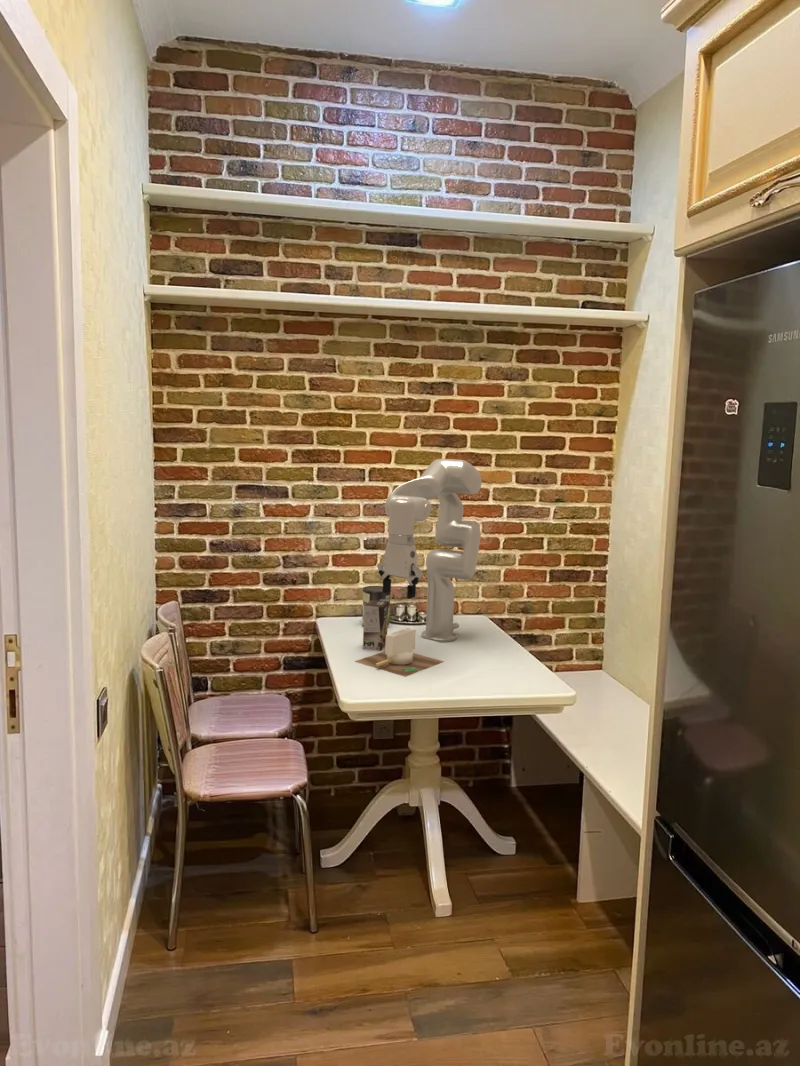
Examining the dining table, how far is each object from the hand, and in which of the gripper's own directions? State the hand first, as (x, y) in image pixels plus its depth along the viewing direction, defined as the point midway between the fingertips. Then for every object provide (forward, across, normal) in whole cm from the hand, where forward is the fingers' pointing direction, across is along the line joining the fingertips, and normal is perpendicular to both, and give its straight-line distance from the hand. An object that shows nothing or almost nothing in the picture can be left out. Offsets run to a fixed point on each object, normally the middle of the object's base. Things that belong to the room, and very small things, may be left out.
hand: (398, 594), depth 231 cm
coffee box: (+23, +15, -8) cm, 29 cm away
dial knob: (+21, -1, +2) cm, 21 cm away
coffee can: (+23, +36, -31) cm, 53 cm away
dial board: (+23, -1, -1) cm, 23 cm away
